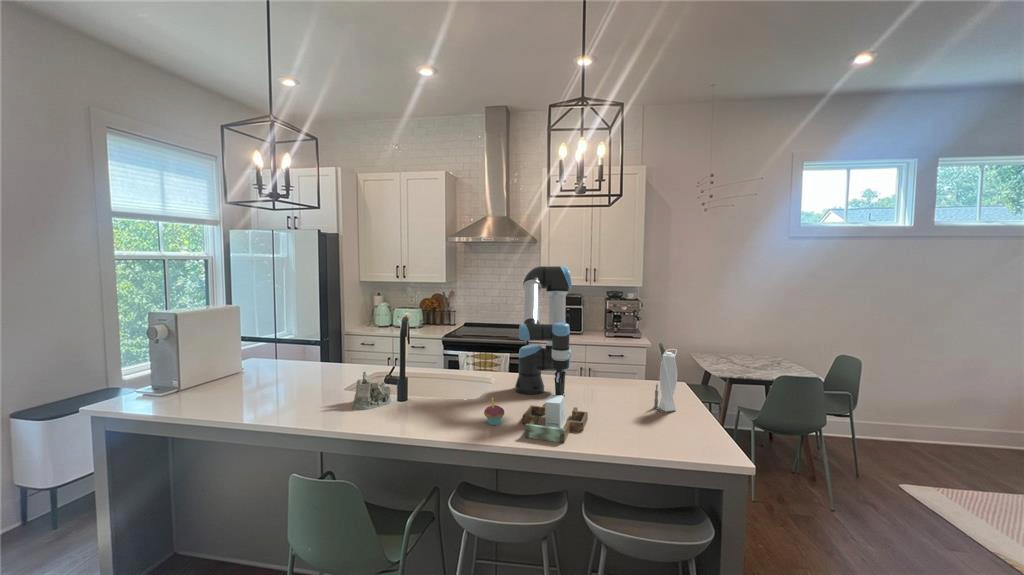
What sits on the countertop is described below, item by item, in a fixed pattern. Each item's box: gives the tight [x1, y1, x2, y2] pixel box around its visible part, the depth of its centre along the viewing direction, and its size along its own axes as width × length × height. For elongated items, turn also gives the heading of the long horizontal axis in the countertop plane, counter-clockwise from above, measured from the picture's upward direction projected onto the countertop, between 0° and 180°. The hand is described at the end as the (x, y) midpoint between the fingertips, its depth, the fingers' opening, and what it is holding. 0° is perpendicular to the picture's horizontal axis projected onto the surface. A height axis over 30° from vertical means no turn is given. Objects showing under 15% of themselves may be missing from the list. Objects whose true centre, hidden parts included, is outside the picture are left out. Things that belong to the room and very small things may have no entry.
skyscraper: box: [653, 348, 678, 413], centre depth 196 cm, size 8×8×28 cm
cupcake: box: [483, 396, 505, 426], centre depth 179 cm, size 9×8×12 cm
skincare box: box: [544, 394, 565, 428], centre depth 179 cm, size 10×6×10 cm, turn 163°
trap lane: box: [522, 403, 589, 444], centre depth 177 cm, size 25×30×5 cm
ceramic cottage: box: [351, 371, 392, 411], centre depth 200 cm, size 16×16×15 cm
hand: (559, 412), depth 188 cm, fingers closed
